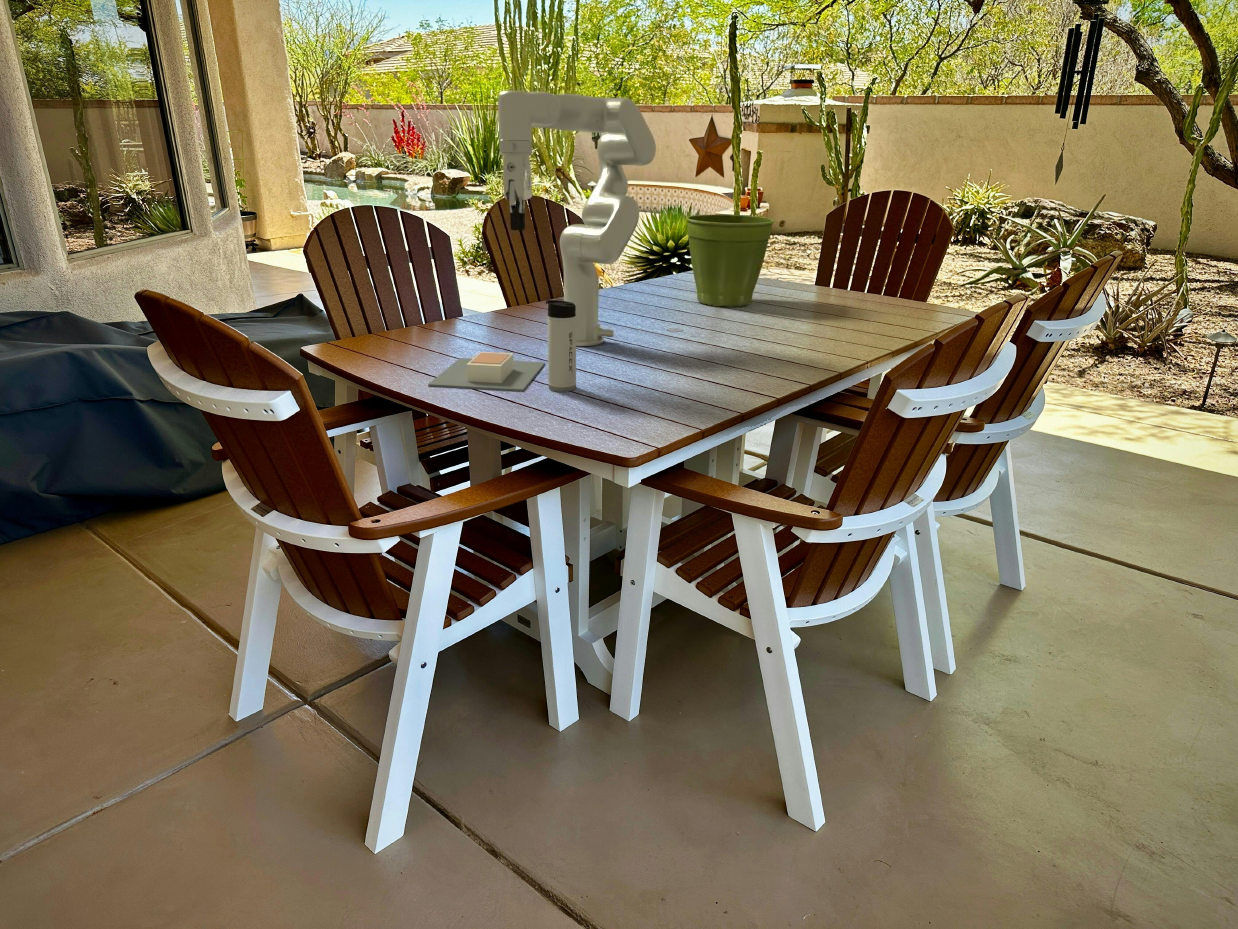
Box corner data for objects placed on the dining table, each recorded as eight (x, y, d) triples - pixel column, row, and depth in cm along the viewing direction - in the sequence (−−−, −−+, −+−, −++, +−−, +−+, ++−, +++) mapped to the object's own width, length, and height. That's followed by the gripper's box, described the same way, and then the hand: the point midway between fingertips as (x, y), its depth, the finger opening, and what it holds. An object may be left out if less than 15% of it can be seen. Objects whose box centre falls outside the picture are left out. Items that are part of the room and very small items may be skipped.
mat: (544, 364, 204) (544, 362, 204) (523, 391, 182) (523, 389, 182) (459, 359, 206) (459, 357, 206) (428, 386, 184) (428, 384, 184)
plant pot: (684, 293, 301) (688, 213, 291) (765, 297, 298) (772, 215, 287) (679, 308, 274) (683, 220, 263) (768, 313, 270) (775, 223, 260)
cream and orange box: (513, 352, 195) (500, 365, 184) (513, 369, 197) (501, 383, 186) (480, 350, 196) (466, 363, 185) (481, 367, 198) (467, 381, 187)
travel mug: (547, 384, 187) (545, 297, 180) (575, 384, 188) (575, 297, 180) (547, 392, 181) (545, 302, 174) (576, 392, 182) (576, 303, 175)
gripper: (524, 149, 182) (526, 233, 189) (538, 148, 196) (539, 227, 203) (491, 148, 183) (494, 232, 190) (507, 148, 197) (510, 226, 204)
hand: (517, 229), depth 196 cm, fingers closed
